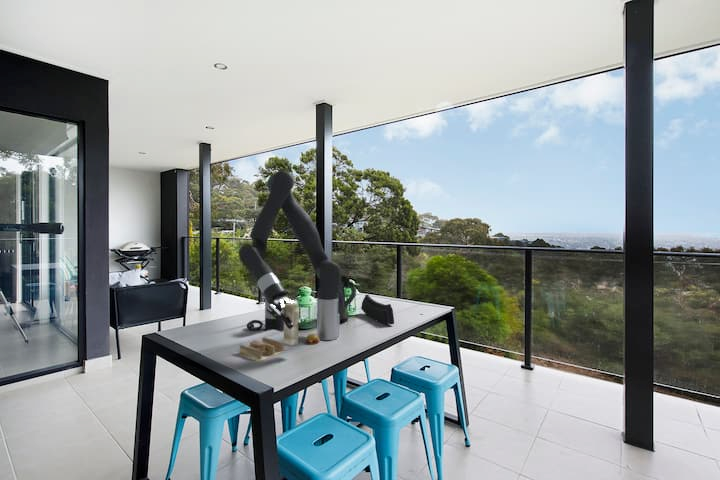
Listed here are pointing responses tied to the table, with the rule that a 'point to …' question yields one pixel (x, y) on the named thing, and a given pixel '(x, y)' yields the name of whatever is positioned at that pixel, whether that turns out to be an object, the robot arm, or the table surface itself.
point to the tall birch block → (292, 313)
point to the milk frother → (267, 321)
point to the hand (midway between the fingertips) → (295, 326)
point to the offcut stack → (259, 346)
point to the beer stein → (341, 301)
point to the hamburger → (312, 339)
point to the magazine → (377, 310)
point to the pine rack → (256, 354)
